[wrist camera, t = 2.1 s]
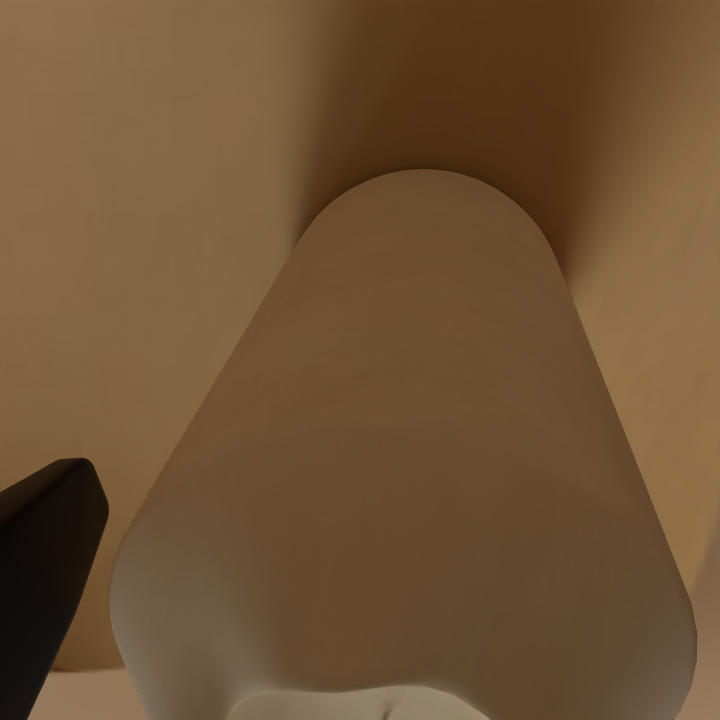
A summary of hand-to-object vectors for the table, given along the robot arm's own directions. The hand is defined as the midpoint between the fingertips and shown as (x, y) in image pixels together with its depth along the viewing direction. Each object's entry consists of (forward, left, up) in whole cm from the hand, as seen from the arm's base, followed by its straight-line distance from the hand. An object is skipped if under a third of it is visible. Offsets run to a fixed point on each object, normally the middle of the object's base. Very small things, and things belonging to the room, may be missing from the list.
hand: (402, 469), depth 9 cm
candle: (0, 0, -6) cm, 6 cm away
